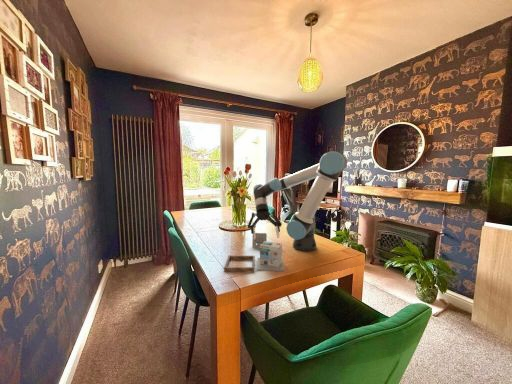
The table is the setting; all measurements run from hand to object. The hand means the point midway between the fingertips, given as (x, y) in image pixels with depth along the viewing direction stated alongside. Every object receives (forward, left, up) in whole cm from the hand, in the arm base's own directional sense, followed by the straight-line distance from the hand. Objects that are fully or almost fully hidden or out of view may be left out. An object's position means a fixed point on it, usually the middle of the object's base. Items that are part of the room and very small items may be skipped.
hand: (266, 238), depth 120 cm
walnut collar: (+14, +7, -13) cm, 20 cm away
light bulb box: (-2, +6, -12) cm, 14 cm away
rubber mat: (-2, +6, -13) cm, 14 cm away
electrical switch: (+4, -20, -13) cm, 24 cm away
